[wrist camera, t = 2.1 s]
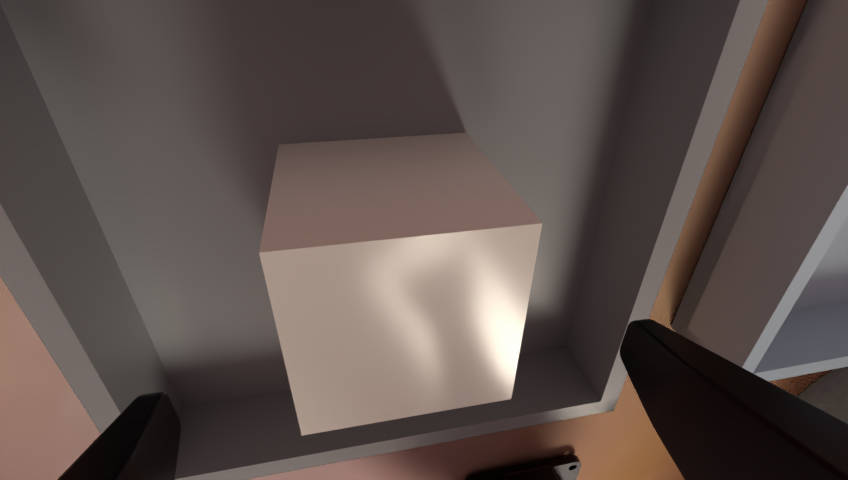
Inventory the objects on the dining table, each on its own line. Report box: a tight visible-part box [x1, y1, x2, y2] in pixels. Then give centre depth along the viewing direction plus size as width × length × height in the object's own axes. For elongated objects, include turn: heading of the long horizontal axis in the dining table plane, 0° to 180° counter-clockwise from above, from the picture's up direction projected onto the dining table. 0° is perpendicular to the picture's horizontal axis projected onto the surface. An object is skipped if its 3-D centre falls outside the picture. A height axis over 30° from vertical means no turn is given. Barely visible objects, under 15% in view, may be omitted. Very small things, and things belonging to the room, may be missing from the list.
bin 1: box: [0, 0, 769, 480], centre depth 12 cm, size 15×16×4 cm
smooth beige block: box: [259, 133, 542, 436], centre depth 11 cm, size 5×5×5 cm
